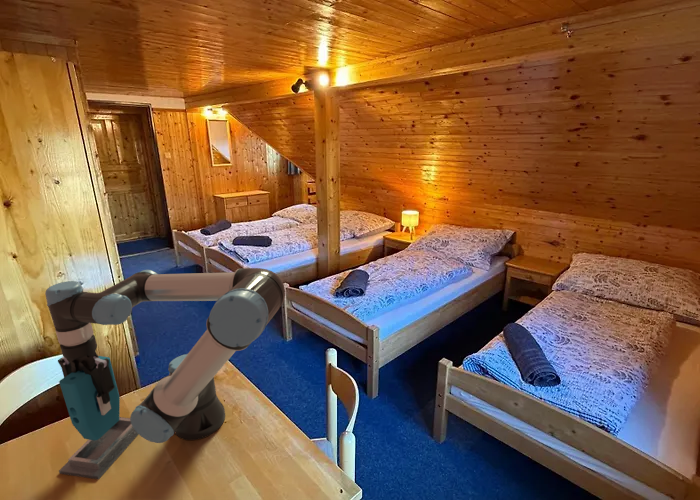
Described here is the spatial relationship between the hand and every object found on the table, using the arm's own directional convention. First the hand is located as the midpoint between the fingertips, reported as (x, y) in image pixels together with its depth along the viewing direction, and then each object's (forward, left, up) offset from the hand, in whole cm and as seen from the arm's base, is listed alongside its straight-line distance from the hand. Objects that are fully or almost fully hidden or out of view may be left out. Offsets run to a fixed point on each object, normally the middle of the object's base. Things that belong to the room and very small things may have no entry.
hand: (97, 410), depth 105 cm
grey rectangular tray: (0, 0, -13) cm, 13 cm away
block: (0, 0, -6) cm, 6 cm away
